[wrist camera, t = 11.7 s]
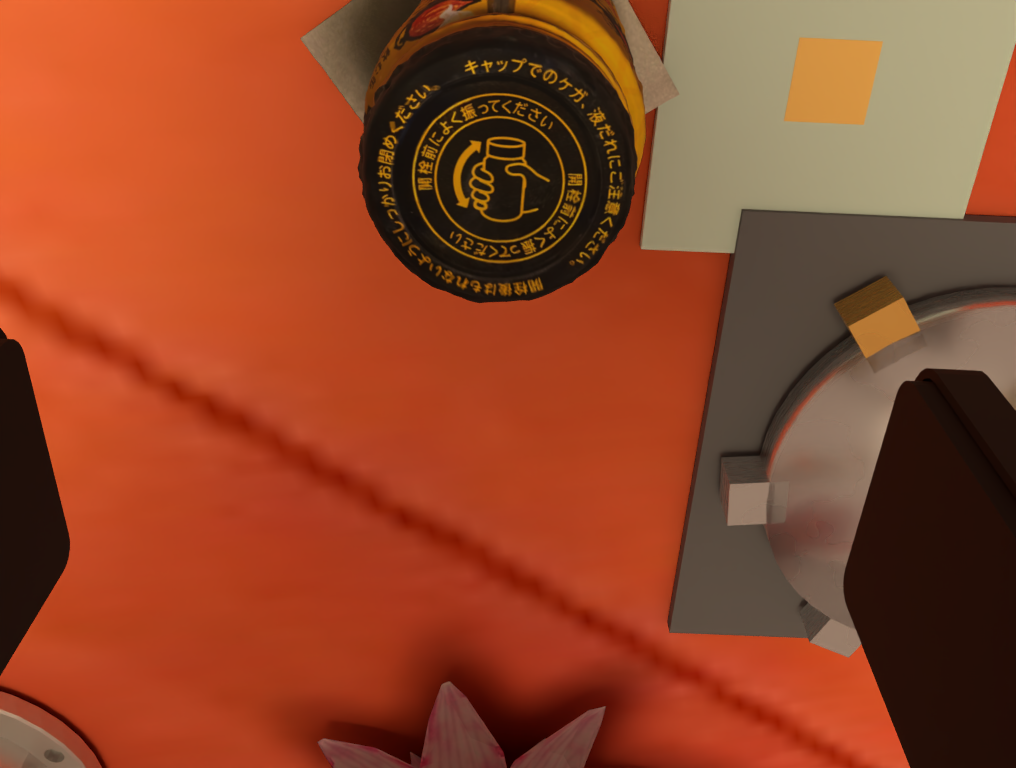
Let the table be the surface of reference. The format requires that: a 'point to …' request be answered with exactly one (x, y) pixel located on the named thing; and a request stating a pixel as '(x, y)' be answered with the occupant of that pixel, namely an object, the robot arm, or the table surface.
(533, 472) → the table surface
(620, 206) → the condiment
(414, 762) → the decorative flower
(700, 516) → the sprocket base
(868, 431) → the sprocket
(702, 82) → the mat
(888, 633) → the robot arm
